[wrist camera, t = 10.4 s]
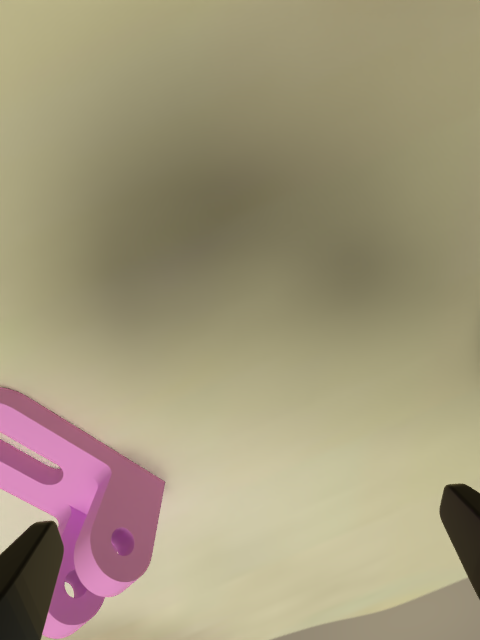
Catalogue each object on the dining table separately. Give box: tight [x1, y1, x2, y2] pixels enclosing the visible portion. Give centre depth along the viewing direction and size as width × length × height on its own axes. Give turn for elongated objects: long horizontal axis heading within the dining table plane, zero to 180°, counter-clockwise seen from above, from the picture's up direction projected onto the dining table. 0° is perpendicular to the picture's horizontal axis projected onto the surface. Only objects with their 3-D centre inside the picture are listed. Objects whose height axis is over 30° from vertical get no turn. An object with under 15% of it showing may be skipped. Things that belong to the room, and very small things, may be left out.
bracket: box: [0, 387, 165, 639], centre depth 19 cm, size 13×6×7 cm, turn 47°
